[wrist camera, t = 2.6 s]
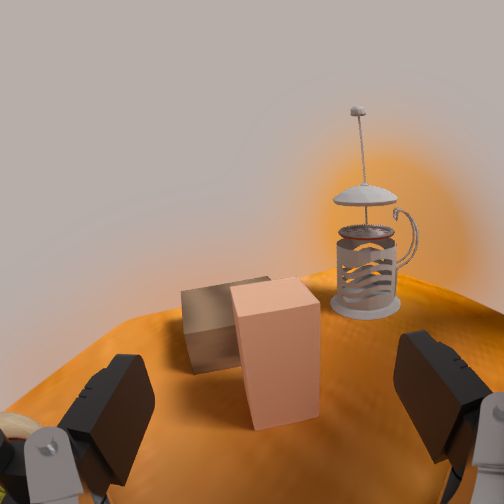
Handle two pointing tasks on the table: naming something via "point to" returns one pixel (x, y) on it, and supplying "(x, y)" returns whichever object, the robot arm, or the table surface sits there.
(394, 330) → the table surface
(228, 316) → the walnut block
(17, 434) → the bird rattle
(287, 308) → the terracotta block
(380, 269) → the french press
